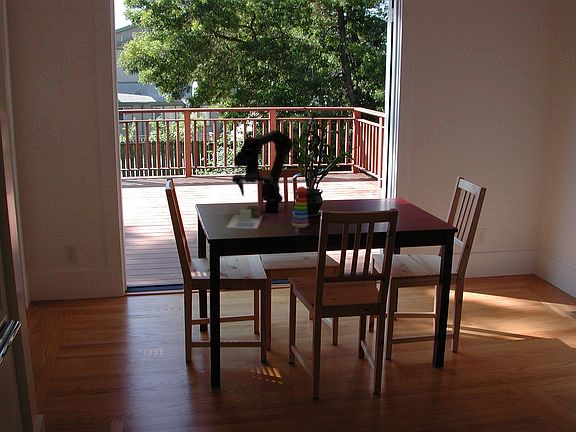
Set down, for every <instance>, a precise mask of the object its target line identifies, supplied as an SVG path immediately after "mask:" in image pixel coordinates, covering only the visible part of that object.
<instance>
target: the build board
mask: <svg viewBox="0 0 576 432" xmlns="http://www.w3.org/2000/svg"><path fill="white" fill-rule="evenodd" d="M262 218H263V215H262V214H261V216H260V218H259V219H255V218H252V220H251V222H240V214H233V216H232V218H231V220H229V223H228V224H227V226H226V227H225V228H227V229H229V228H230V229H258V227H259V226H260V223H261V221H262Z"/></svg>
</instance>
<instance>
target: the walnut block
mask: <svg viewBox="0 0 576 432" xmlns="http://www.w3.org/2000/svg"><path fill="white" fill-rule="evenodd" d="M261 207H262V206H261V205H248V206H247V207H246V209H252V218H255V219H259V218H260V216H261V215H262V213H261V210H262V209H261Z"/></svg>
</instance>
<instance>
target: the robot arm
mask: <svg viewBox="0 0 576 432" xmlns="http://www.w3.org/2000/svg"><path fill="white" fill-rule="evenodd" d="M271 142H272V143H273V144H274V150H275V155H274V159H273V163H272V166H271V167H272V168H271V171H270V175H263V176H261V173H260V171H259V167H260V166H259V158H260V156H259V155H262V152H261V151H260V150H261V149H263V148H264V147H263V146H264V145H267V144H270V143H271ZM293 146H294V143H293V140H292V138H290V137H289V136H287V135H285V134H284V133H283V132H282V131H280V130H271V131H269V132H267V133H264V134H262V135H259V136H253V137H246V138H245V139H244V142H243V143H242V146H241V148H240V151H238V152H237V153H236V155H235V156H234V159H233V163H234V164H235V166H236V167H238V168H241V167H245V166H246V170H245V174H244V176H243V174H234V175H233V176H232V181H231V182H232V183H234V184H235V185H237V186H238V188H239V190H240V192H241V195H242V197H245V191H244V189H245V188H244V181H245V183H256V182H257V181H258V182H262V188H261V197H262V200H263V202H265V204H264V213H266V214H267V213H268V214H278V213H280V203H282V202H283V198H284V197H283V196H282V194H281V193H280V191H281V190H280V184H279V182H280V179H281V175H282V171H283V168H284V163H285V160H286V157H287V155H288V154H290V153H291V150H292V149H293Z"/></svg>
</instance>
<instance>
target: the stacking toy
mask: <svg viewBox="0 0 576 432" xmlns="http://www.w3.org/2000/svg"><path fill="white" fill-rule="evenodd" d="M295 193H296V197H295V202H294V204H295V205H294V209H293V214H292V219H291V226H292V227H294V228H298V229H299V228H300V229H301V228H308V226H309V218H308V217H309V214H308V202H307V199H308V198H307V197H306V196H307V194H308V190H307V188H306V187H304V186H298V187H297V188H296V191H295Z"/></svg>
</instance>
